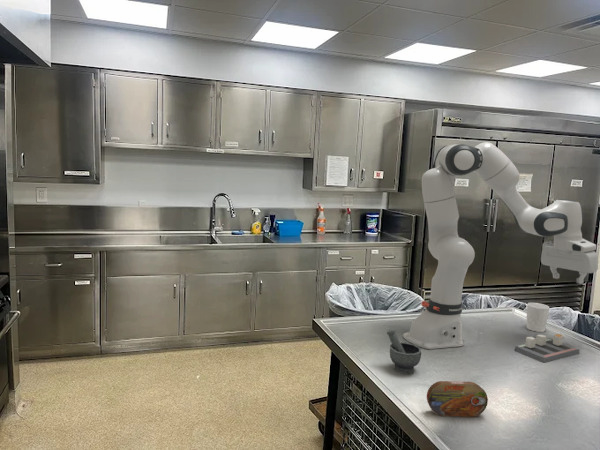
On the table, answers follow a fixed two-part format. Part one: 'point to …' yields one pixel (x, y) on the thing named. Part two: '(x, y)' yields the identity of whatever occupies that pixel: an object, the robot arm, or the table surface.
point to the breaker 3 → (558, 339)
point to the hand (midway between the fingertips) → (567, 280)
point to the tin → (457, 398)
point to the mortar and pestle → (403, 354)
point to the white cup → (537, 316)
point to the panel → (547, 351)
